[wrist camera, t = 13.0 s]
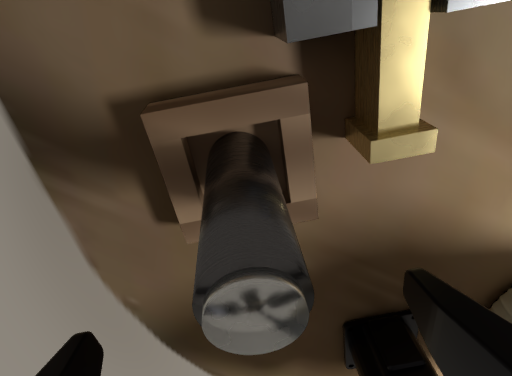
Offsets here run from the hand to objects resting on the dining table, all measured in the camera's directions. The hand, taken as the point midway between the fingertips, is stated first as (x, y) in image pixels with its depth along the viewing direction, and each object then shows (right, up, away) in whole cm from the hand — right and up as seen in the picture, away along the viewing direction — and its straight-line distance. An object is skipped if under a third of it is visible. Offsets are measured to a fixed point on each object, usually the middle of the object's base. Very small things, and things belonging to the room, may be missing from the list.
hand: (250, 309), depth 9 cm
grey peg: (-1, +5, +9) cm, 10 cm away
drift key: (+6, +11, +7) cm, 14 cm away
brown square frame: (-1, +5, +10) cm, 11 cm away
